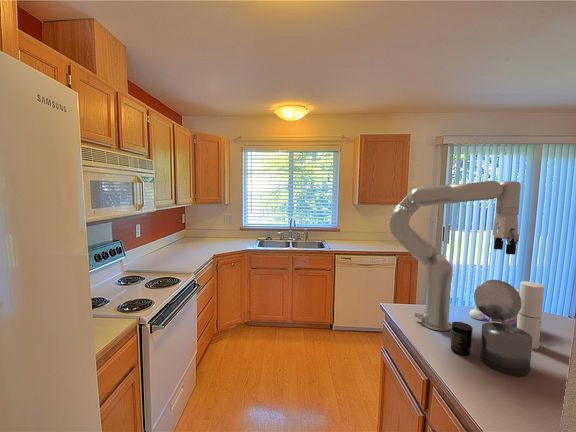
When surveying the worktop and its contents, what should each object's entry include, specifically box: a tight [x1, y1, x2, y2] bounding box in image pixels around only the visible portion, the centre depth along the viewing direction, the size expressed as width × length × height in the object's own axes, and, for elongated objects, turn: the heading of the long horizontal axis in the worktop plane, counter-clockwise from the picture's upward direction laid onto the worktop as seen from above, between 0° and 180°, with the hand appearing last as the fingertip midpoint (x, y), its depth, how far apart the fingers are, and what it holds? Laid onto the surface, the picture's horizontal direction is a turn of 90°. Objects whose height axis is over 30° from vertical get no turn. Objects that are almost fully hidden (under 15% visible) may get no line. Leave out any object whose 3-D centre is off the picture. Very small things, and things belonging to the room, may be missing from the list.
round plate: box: [473, 279, 522, 323], centre depth 107 cm, size 16×15×3 cm
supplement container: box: [450, 321, 473, 357], centre depth 105 cm, size 7×7×10 cm
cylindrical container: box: [516, 280, 545, 350], centre depth 110 cm, size 7×7×25 cm
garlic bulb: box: [469, 305, 486, 321], centre depth 134 cm, size 6×6×8 cm
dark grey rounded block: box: [479, 321, 533, 378], centre depth 98 cm, size 14×14×12 cm
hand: (504, 251), depth 115 cm, fingers open, 9 cm apart
